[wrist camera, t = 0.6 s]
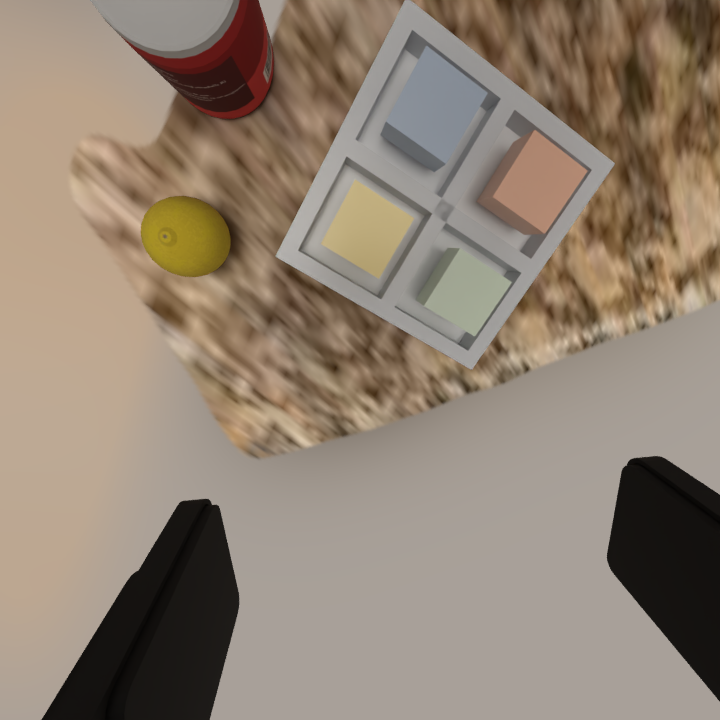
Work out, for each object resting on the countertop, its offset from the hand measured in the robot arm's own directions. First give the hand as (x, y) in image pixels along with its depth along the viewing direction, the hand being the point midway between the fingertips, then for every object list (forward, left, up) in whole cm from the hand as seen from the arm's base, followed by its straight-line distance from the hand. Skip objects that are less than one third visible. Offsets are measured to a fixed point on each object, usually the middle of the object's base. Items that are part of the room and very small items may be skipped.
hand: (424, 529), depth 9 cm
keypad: (-10, +1, -26) cm, 28 cm away
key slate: (-15, -3, -22) cm, 27 cm away
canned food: (-11, -18, -26) cm, 34 cm away
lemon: (+1, -14, -26) cm, 30 cm away
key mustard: (-6, -3, -22) cm, 23 cm away
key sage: (-6, +5, -22) cm, 24 cm away
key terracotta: (-15, +5, -22) cm, 27 cm away
